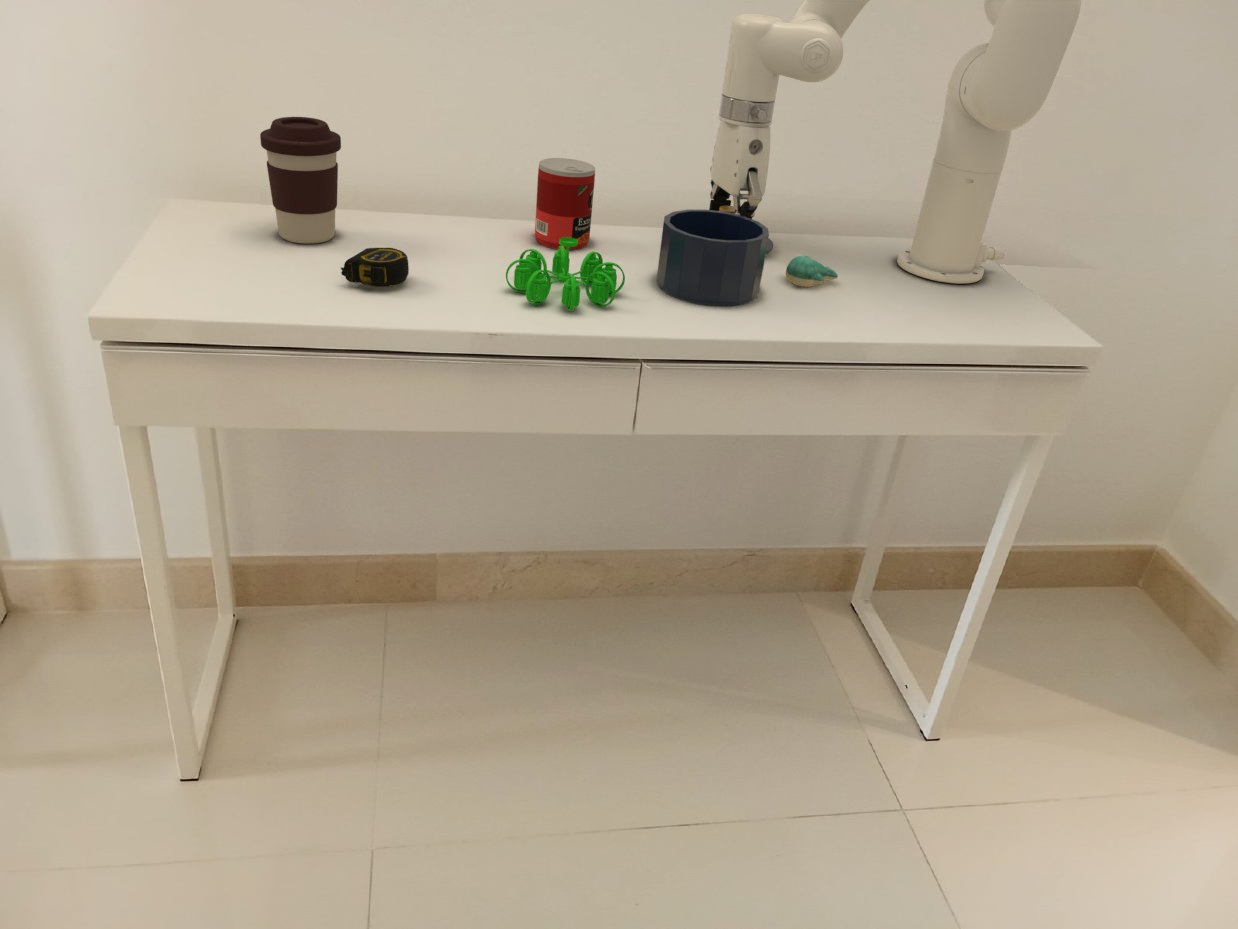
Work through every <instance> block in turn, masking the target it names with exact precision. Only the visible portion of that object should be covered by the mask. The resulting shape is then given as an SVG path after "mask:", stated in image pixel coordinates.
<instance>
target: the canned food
mask: <svg viewBox="0 0 1238 929" xmlns="http://www.w3.org/2000/svg"><path fill="white" fill-rule="evenodd" d="M537 170H538V171H537V184H536V185H537V187H536V205H535V206H536V207H535V223H534V224H535V225H534V235H535V241H537V243H538V244H540V245H541V246H544V247H546V248H550V249H555V250H558V248H559V246H562V245H560V244H559V240H560V238H563V237H570V238H575V239H577V240H578V243H577V246H575V247H570V248H569V251H574V250H581V249H583V248H585V247H587V246H588V244H589V241H590V238H591V237H590V236H591V227H592V226H591V225H592V213H593V204H594V192H595V180H596V166H594V165H593V164H591V163H589V162H587V161H583V160H579V159H574V158H566V157H548V158H544V159H542V160H540V161H539V162H538V168H537ZM566 248H567V247H566V246H564V249H565V250H566Z"/></svg>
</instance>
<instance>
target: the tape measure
mask: <svg viewBox="0 0 1238 929" xmlns="http://www.w3.org/2000/svg"><path fill="white" fill-rule="evenodd" d="M409 266H410V265H409V259H408V255H407V254H406V253H405V252H404V251H403V250H401V249H397V248H394V247H368V248H364V249H363V250H362V251H360V252H358V253H357V254H355V255H353V256H351V257H349V258H348V259H347V260H345V262H344V264H343V267H342V266H341V267H340V270H341V272H340V273H341V276H344V277H345V279H346V281H348V282H349V283H355V284H356V283H361V284H363V285H366V286H369V287H376V288H377V287H378V288H380V287H381V288H383V287H392V286H397V285H400V284H402V283H404V282H405V281H406V280H407V278H408V276H409V274H410V272H409V271H410V269H409V268H410V267H409Z"/></svg>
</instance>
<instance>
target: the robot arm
mask: <svg viewBox="0 0 1238 929" xmlns="http://www.w3.org/2000/svg"><path fill="white" fill-rule="evenodd" d="M869 2H870V0H803V1H802V3H801V4H800V6H799V7H798V9H797V10H796V12H795V14H794V15H793V17H792V18H791V20H790V21H789V22H785V21H784V20H783V19H782V18H780V17H777V16H774V15H768V14H762V13H740V14H738V15H737V16H735V17H734V19H733V20H732V22H731V26H730V34H729V40H728V48H727V54H726V60H725V61H726V62H725V68H724V75H723V76H724V77H723V83H722V89H721V96H720V102H719V103H720V104H719V109H718V118H717V119H718V120H719V123H718V128H717V133H716V136H715V137H716V138H715V141H714V146H713V153H712V160H711V165H710V167H709V168H710V178H711V180H710V185H711V190H710V193H709V197H710V200H709V209H708V210H713V211H719V208H720V207H721V206H732V202H733V207H734V214H737V215H741V216H745V217H747V218H750V219H753V218H754V217H755V212H756V210H757V209H758V206H759V205H760V203H761V202H762V200H763V196H764V195H765V192H766V187H767V181H768V180H767V179H768V173H769V165H770V153H771V127H770V126H772V121H773V114H774V109H775V104H776V97H777V92H778V85H779V79H780V76H782V77H786V78H790V79H793V80H797V81H800V82H804V83H805V82H806V83H819V82H823V81H825V80H828V79H829V78H831V77H832V76H833V75H835V73H836V72H837V71H838V69H839V68H840V66H841V64H842V62H843V58H844V45H843V41H842V38H843V37H844V36H845V34H846V32H847V31H848V29H849V28H850V26H851V25H852V23H853V22H854V21H855V20H856V18H857V17H858V15H859V14H860V13H861V11H862V10H863V9H864V8H865V6H866V5H867V4H868V3H869ZM1081 5H1082V0H984V5H983V6H984V13H985V16H986V18H987V20H988V21H989V24H991V25H992V26H993V30H992V32H991V35H990V39H989V41H988V42H986V43H982V44H979V45H976V46H974V47H972V48H970V49H969V50H968V51H967V52H965V53H964V54H963V55H962V56H961V57H960V58H959V60H958V61H957V62H956V64H955V66H954V67H953V70H952V71H951V74H950V77H949V81H948V83H947V90H946V95H945V103H944V110H943V116H942V121H941V122H942V123H941V128H940V131H939V136H938V141H937V144H936V147H935V148H936V149H935V153H934V156H933V160H932V164H931V168H930V171H929V176H928V179H927V183H926V187H925V191H924V195H923V199H922V204H921V207H920V211H919V215H918V220H917V223H916V227H915V231H914V235H913V238H912V242H911V245H910V249H904V250H902V251H901V252H899V253H898V255H897V260H896V263H897V265H898V266H899V267H900V268H901V269H902V270H904V271H906V272H908V273H910V274H912V275H914V276H917V277H920V278H923V279H927V280H931V281H935V282H941V283H948V284H960V285H961V284H963V285H964V284H973V283H976V282H979V281H981V280H982V278H983V276H984V273H985V269H984V268H983V266H982V263H985V262H986V261H988V260H989V261H1001V260H1003V259H1004V258H1005V254H1006V251H1005V248H1004V247H1002V246H992V247H991V246H990V247H987V244H986V243H982V241H983V238H984V234H985V230H986V227H987V224H988V220H989V217H990V213H991V210H992V207H993V202H994V199H995V196H996V192H997V190H998V189H997V188H998V186H999V183H1000V182H999V181H1000V178H1001V176H1002V172H1003V169H1004V166H1005V162H1006V159H1007V155H1008V150H1009V146H1010V142H1011V135H1012V131H1013V130H1016V129H1018V128H1021V127H1023V126H1025V125H1026V124H1028V123H1029V122H1030V121H1031V120H1032V119H1033V118H1034V117H1035V116H1036V115H1037V114H1038V113H1039V111H1040V110H1041V109H1042V107H1043V105H1044V103H1045V102H1046V100H1047V97H1048V96H1049V93H1050V91H1051V88H1052V86H1053V84H1054V81H1055V79H1056V76H1057V73H1058V72H1059V69H1060V66H1061V64H1062V61H1063V58H1064V56H1065V54H1066V51H1067V49H1068V46H1069V43H1070V41H1071V38H1072V35H1073V33H1074V30H1075V28H1076V25H1077V22H1078V19H1079V15H1080V13H1081V12H1080V11H1081ZM741 192H747V193H741ZM731 196H732V199H733V200H731V199H730V197H731ZM741 200H744V201H743V203H742V204H741ZM745 200H746V201H745Z"/></svg>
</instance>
